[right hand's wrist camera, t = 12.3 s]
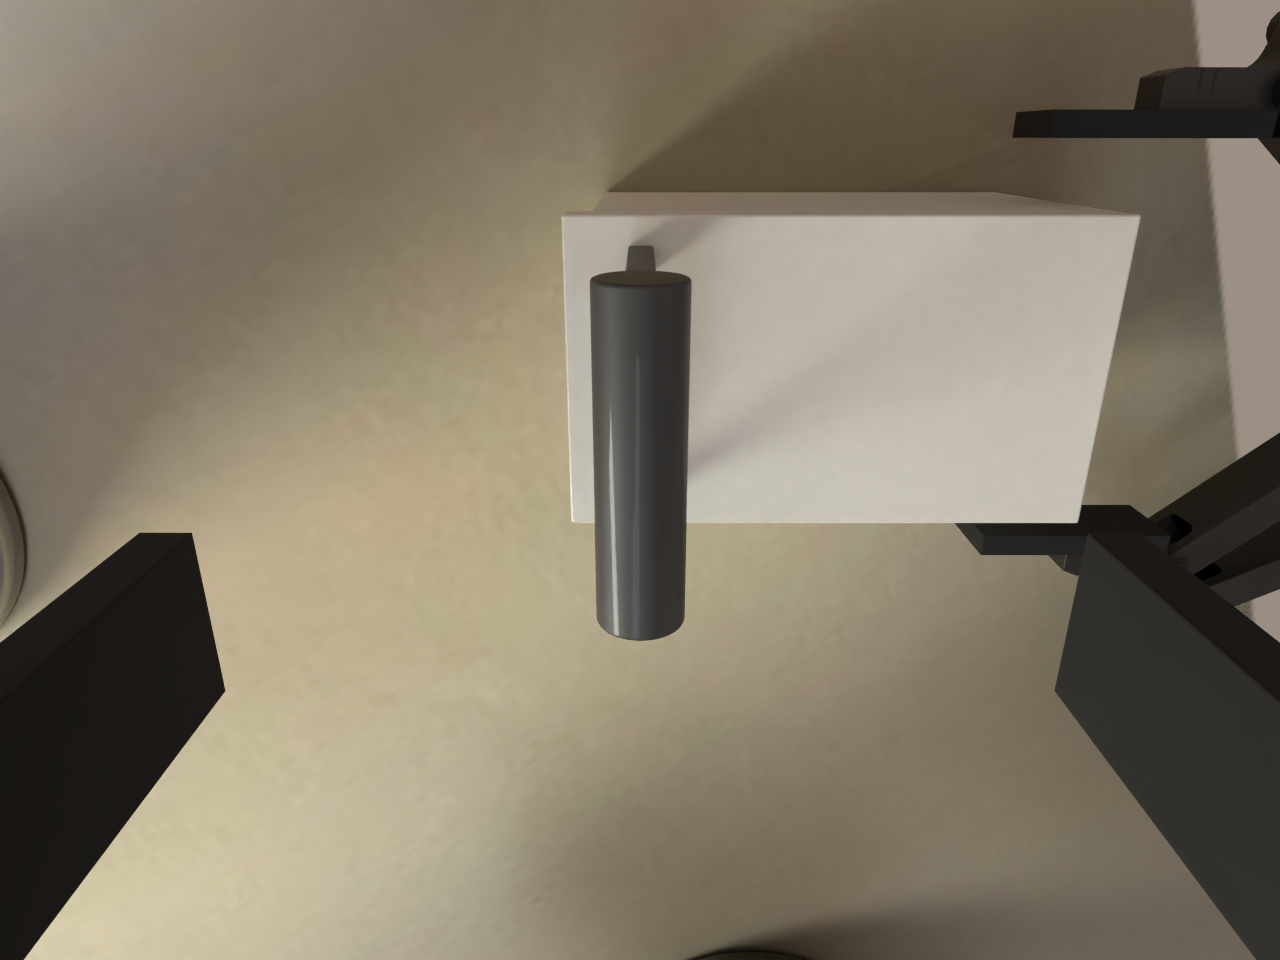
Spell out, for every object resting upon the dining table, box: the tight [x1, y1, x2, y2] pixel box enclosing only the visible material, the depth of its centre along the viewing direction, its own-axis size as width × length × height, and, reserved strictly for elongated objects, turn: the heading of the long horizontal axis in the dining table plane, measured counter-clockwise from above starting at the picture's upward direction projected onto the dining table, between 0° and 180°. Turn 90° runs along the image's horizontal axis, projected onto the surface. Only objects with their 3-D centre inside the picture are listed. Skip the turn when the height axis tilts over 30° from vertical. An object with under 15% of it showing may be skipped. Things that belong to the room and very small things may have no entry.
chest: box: [594, 192, 1114, 211], centre depth 31 cm, size 15×9×9 cm, turn 90°
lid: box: [562, 211, 1141, 641], centre depth 22 cm, size 16×9×9 cm, turn 90°
